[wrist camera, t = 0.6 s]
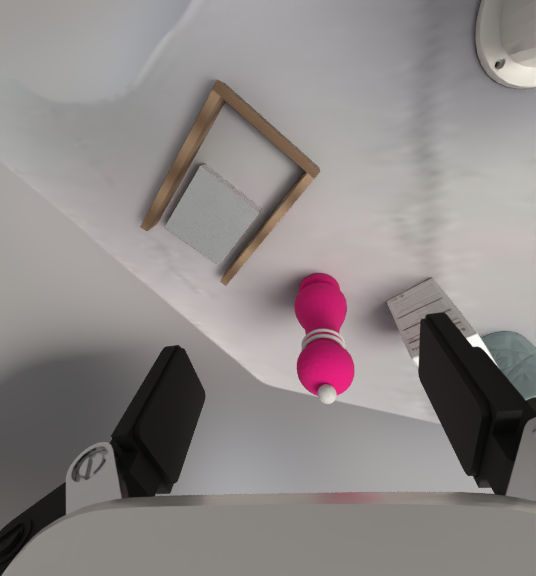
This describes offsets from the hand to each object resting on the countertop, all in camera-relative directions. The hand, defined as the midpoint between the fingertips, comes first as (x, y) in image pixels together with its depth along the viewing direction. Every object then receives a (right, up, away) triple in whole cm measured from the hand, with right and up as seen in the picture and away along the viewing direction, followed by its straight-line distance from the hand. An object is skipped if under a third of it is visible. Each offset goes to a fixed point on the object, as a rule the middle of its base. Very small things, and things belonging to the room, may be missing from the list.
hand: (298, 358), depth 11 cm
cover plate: (-9, +13, +28) cm, 32 cm away
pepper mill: (+7, +2, +32) cm, 33 cm away
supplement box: (+22, 0, +32) cm, 39 cm away
